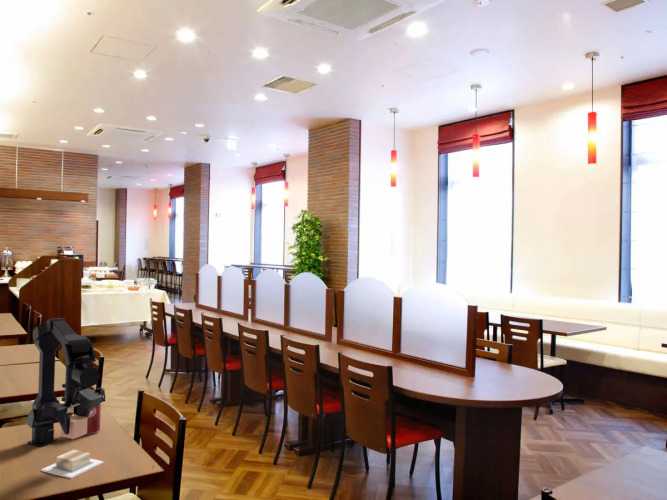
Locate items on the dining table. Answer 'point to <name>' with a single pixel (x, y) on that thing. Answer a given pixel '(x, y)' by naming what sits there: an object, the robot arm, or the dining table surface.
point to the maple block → (72, 460)
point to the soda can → (94, 420)
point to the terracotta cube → (76, 427)
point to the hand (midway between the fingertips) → (74, 431)
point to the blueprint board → (72, 474)
